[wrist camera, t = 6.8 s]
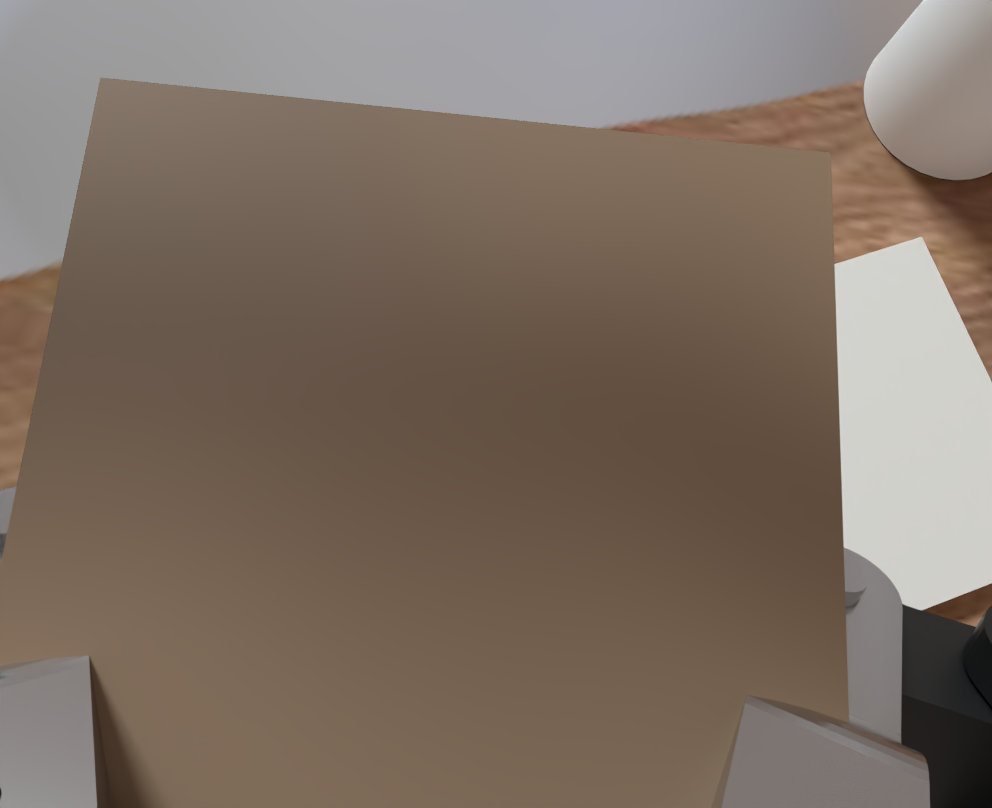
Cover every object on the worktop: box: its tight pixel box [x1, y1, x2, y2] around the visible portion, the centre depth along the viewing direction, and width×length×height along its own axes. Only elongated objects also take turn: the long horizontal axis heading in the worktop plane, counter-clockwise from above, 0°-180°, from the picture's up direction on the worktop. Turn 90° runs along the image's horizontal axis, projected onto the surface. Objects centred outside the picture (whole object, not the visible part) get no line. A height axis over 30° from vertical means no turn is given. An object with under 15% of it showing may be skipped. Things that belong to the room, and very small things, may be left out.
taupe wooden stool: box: [0, 78, 849, 808], centre depth 10 cm, size 6×6×10 cm
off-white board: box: [834, 237, 992, 610], centre depth 29 cm, size 13×13×1 cm
